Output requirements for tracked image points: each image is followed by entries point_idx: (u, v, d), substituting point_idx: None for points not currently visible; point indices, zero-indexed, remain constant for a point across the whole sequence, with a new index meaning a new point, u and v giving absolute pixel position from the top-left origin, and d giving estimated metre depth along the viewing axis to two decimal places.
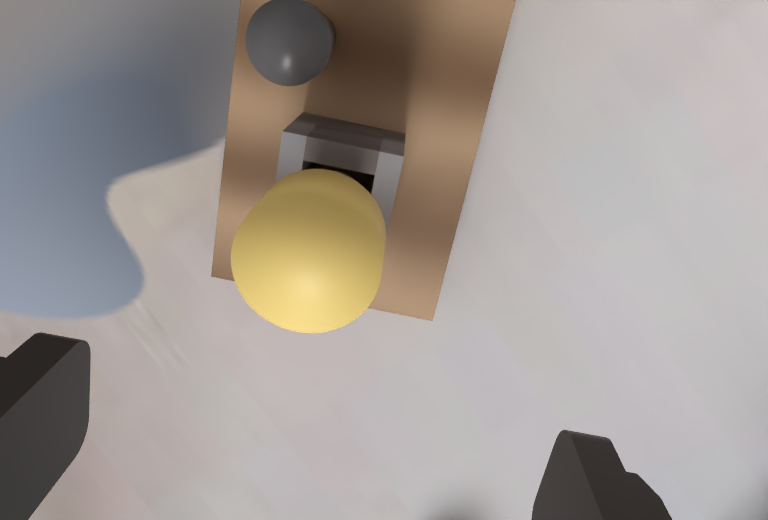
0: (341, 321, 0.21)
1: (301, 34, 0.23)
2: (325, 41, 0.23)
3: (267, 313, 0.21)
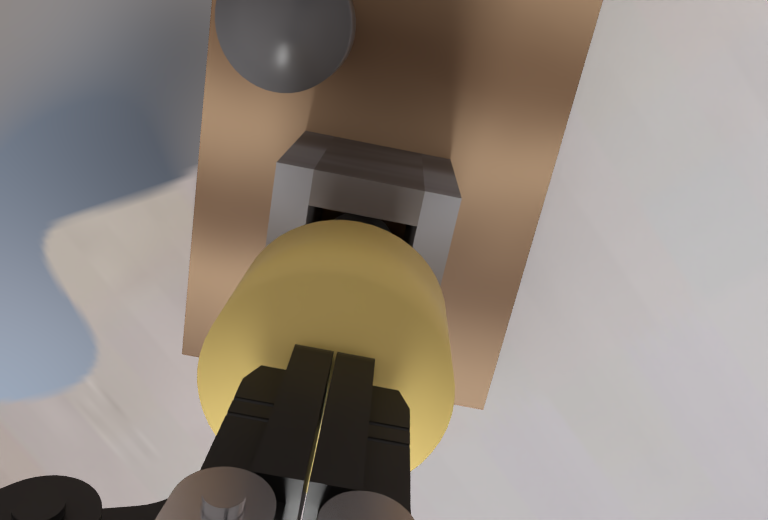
0: None
1: (305, 8, 0.14)
2: (345, 19, 0.14)
3: None
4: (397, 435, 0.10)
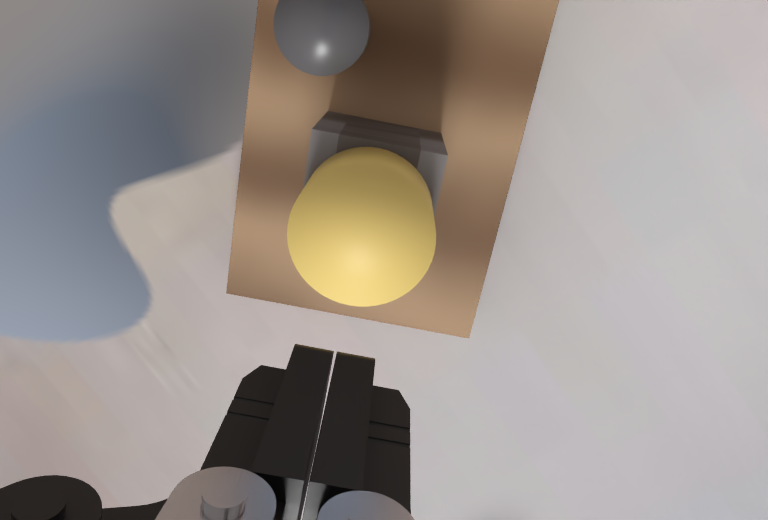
0: (395, 294, 0.21)
1: (337, 16, 0.20)
2: (364, 23, 0.20)
3: (322, 287, 0.21)
4: (397, 435, 0.10)
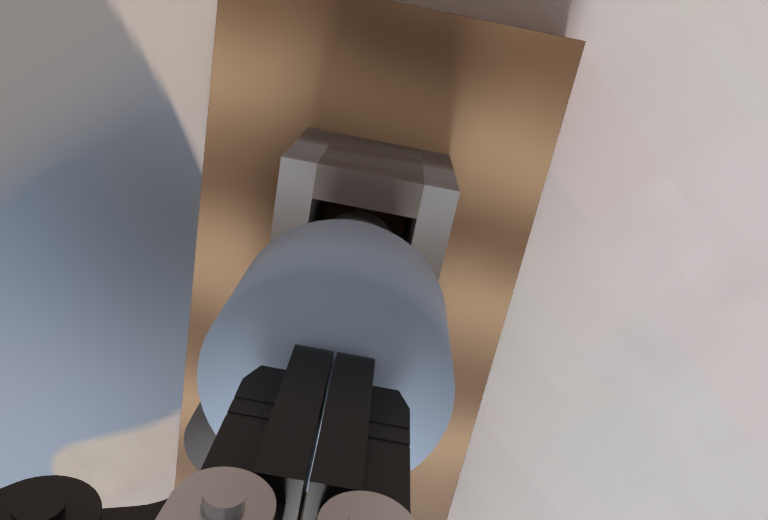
0: None
1: None
2: None
3: None
4: (397, 435, 0.10)
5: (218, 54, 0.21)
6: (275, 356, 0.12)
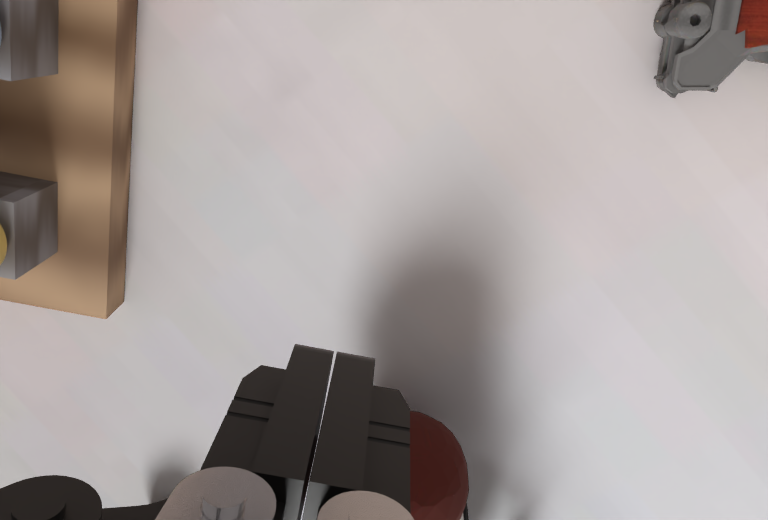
0: None
1: None
2: None
3: None
4: (397, 435, 0.10)
5: None
6: None
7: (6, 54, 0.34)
